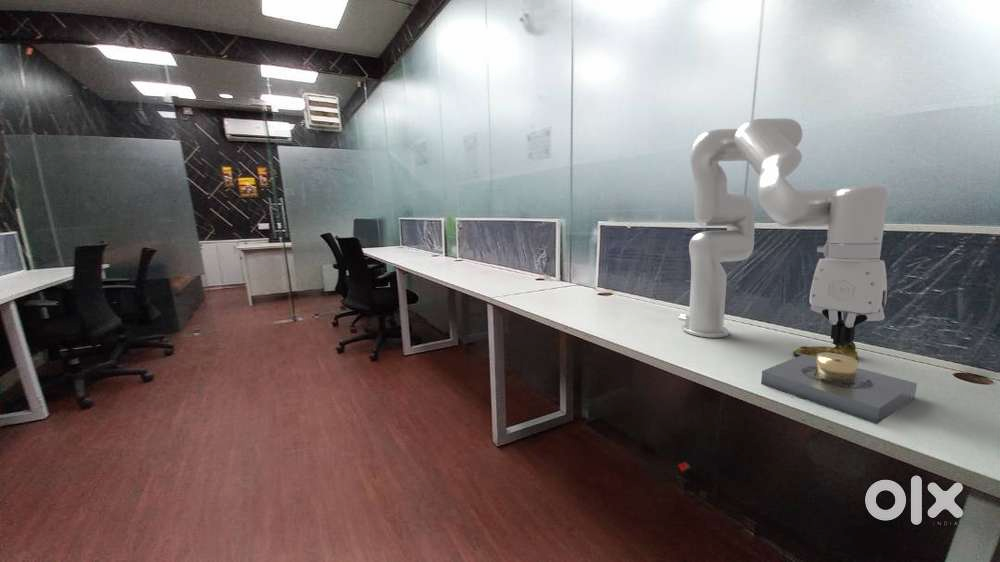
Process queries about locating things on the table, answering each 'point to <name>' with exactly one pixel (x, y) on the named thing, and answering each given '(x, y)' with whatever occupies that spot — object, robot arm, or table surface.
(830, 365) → the gold cylinder
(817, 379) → the jig
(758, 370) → the table surface
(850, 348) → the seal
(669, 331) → the table surface
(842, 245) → the robot arm
